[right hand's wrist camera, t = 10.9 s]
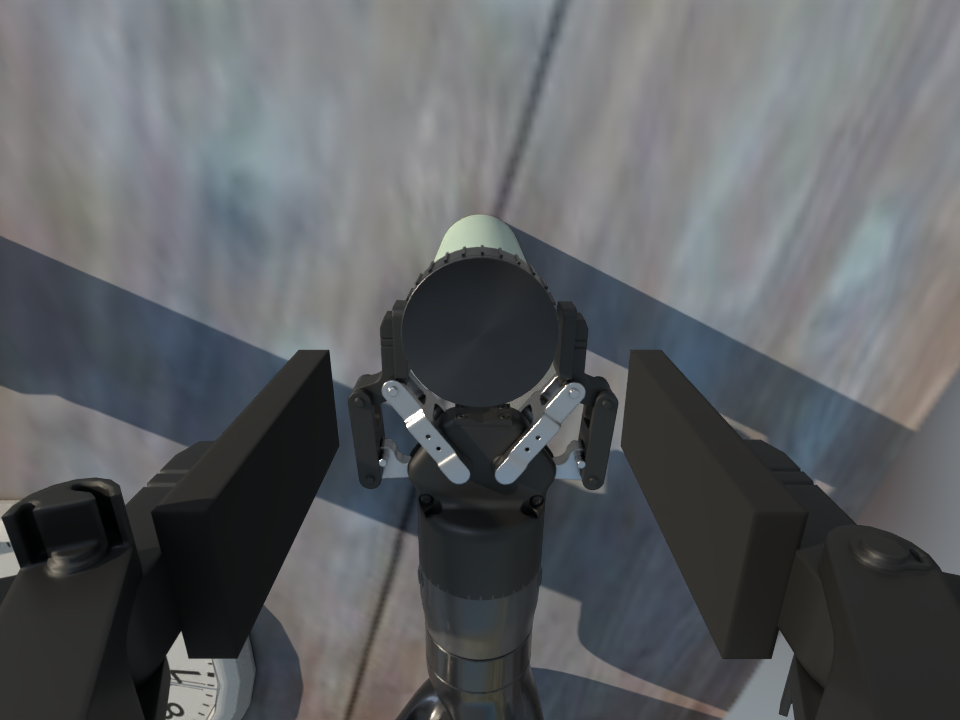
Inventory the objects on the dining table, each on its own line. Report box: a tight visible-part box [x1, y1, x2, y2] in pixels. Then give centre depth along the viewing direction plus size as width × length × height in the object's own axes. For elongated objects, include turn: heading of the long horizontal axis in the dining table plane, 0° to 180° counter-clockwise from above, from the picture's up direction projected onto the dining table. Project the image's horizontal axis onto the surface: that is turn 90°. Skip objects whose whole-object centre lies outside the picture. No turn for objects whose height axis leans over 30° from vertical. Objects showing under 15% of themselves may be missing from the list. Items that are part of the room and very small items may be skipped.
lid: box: [401, 245, 559, 407], centre depth 20 cm, size 6×6×2 cm
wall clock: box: [0, 500, 256, 720], centre depth 44 cm, size 30×2×30 cm
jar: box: [434, 215, 527, 263], centre depth 26 cm, size 5×5×15 cm
